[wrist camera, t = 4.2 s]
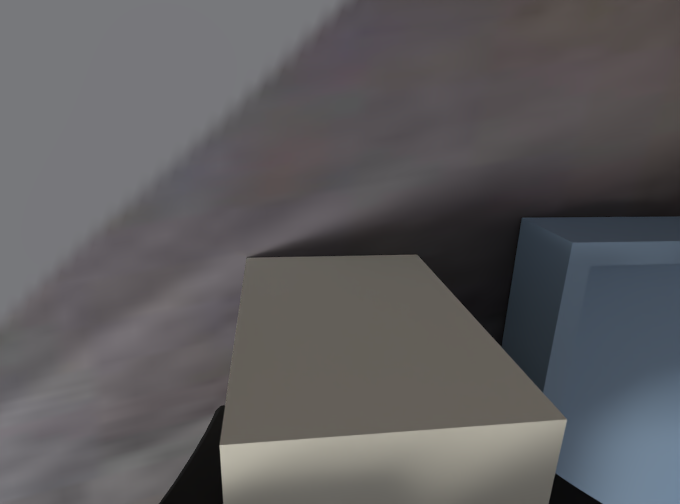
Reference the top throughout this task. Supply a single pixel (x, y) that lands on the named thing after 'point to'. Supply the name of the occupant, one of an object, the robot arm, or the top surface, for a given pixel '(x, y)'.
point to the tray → (604, 347)
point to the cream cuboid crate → (376, 393)
